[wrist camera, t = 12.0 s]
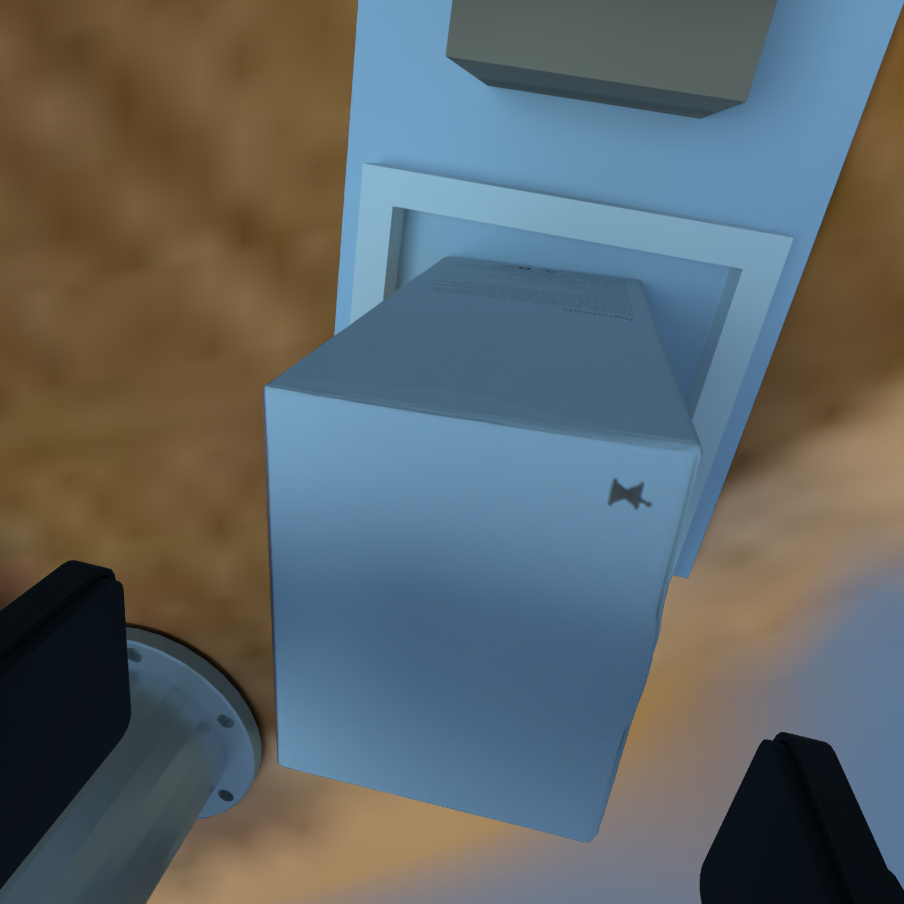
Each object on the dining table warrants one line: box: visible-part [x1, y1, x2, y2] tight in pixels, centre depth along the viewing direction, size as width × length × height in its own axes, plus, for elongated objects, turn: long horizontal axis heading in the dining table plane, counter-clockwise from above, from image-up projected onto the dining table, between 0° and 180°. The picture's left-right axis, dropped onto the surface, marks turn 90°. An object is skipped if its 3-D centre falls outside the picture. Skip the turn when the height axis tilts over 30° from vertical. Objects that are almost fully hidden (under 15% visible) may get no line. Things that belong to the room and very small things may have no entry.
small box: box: [262, 257, 703, 842], centre depth 16 cm, size 8×6×13 cm
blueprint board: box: [334, 0, 904, 583], centre depth 20 cm, size 22×14×3 cm, turn 172°
